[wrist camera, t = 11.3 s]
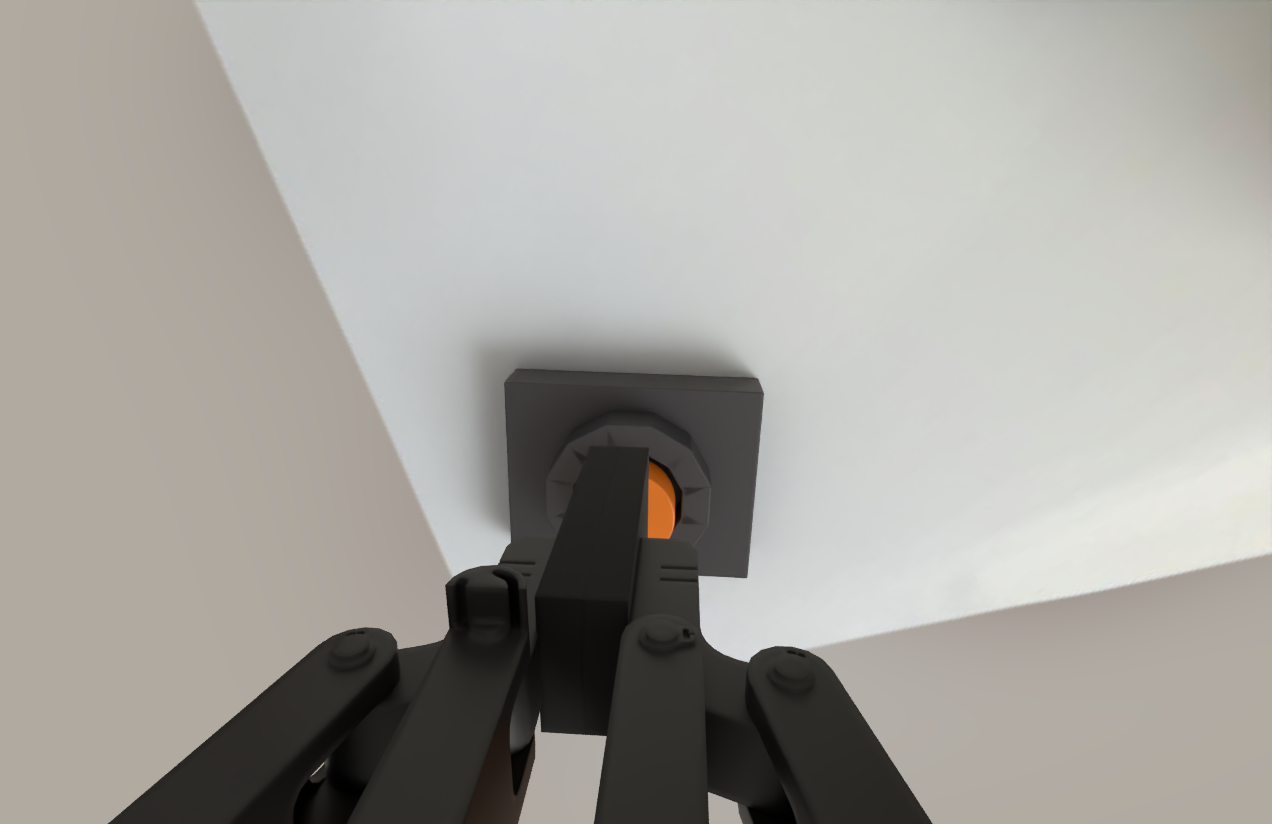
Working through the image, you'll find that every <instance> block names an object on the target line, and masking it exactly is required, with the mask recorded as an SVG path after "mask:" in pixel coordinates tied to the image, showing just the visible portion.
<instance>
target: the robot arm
mask: <svg viewBox="0 0 1272 824" xmlns="http://www.w3.org/2000/svg"><path fill="white" fill-rule="evenodd" d="M648 488H649V447H619V446H590V447H589V449H588V452H587V455H586V458H585V460H584V463H583V466H582V469H581V471H580V474H579V477H578V480H577V482H576V485H575V488H574V490H573V493H572V496H571V499H570V501H569V504H568V507H567V510H566V512H565V515H564V518H563V521H562V523H561V526H560V529H559V532H558V534H557V536H548V535H524V534H522V535H521V536H520V537H518V538H517V539H516V540H515V541H513V542H512V543H511V544H509V545H508V546H507V547H506V549H505V551H504V553H503V555H502V557H501V559H500V563H498V565H491V566H480V567H476V568H472V569H468V570H465V571H463V572H462V573H460V574H458V575H456V576H454V577H453V578H452V579H451V580H450V581H449V582H448V583H447V584H446V585H445V587H446V596H447V597H446V598H447V608H448V618H449V628H450V629H449V631H448V632H447V634H446V636H445V638H444V640H441V641H439V642H436V643H431V644H427V645H422V646H416V647H411V648H404V649H398V648H397V642H396V640H395V639H394V637H393V636H392V634H391V633H389V632H387V631H384V630H382V629H378V628H366V627H365V628H358V629H352V630H347V631H345V632H342V633H339V634H337V635H334V636H332V637H330V638H329V639H327V640H326V641H324V642H322V643H321V644H319V645H318V646H317V647H316V648H315V649H313V650H312V651H311V652H310V653H309V654H307V655H306V656H305V657H304V658H303V659H301V660H300V661H299V662H298V663H297V664H296V665H295V666H293V667H292V668H291V669H290V670H289V671H287V672H286V673H285V674H284V675H283V676H281V677H280V678H279V679H278V680H277V681H276V682H274V683H273V684H272V685H271V686H270V687H268V688H267V689H266V690H265V691H264V692H263V693H261V694H260V695H259V696H258V697H257V698H256V699H254V700H253V701H252V702H251V703H250V704H248V705H247V706H246V707H245V708H244V709H243V710H241V711H240V712H239V713H238V714H237V715H236V716H234V717H233V718H232V719H231V720H230V721H229V722H227V723H226V724H225V725H224V726H223V727H221V728H220V729H219V730H218V731H217V732H215V733H214V734H213V735H212V736H211V737H210V738H208V739H207V740H206V741H205V742H204V743H202V744H201V745H200V746H199V747H198V748H197V749H196V750H194V751H193V752H192V753H191V754H190V755H188V756H187V757H186V758H185V759H184V760H183V761H181V762H180V763H179V764H178V765H177V766H176V767H174V768H173V769H172V770H171V771H170V772H168V773H167V774H166V775H165V776H164V777H162V778H161V779H160V780H159V781H158V782H157V783H155V784H154V785H153V786H152V787H151V788H150V789H148V790H147V791H146V792H145V793H144V794H143V795H141V796H140V797H139V798H138V799H137V800H135V801H134V802H133V803H132V804H131V805H130V806H128V807H127V808H126V809H125V810H124V811H122V812H121V813H120V814H119V815H118V816H117V817H115V818H114V819H113V820H112V821H111V822H109V823H108V824H518V821H519V817H520V814H521V810H522V806H523V802H524V798H525V794H526V790H527V786H528V783H529V779H530V775H531V771H532V767H533V763H534V759H535V734H534V731H535V727H536V724H537V720H538V716H539V713H540V717H541V732H550V733H566V734H582V735H599V736H607V739H606V745H605V752H604V758H603V765H602V772H601V779H600V786H599V793H598V799H597V807H596V814H595V820H594V824H709V816H708V815H709V813H708V792H710V793H713V794H716V795H719V796H721V797H724V798H726V799H729V800H732V801H734V802H737V803H738V808H739V814H740V817H741V820H742V823H743V824H932V823H931V821H930V819H929V817H928V816H927V814H926V813H925V811H924V810H923V808H922V807H921V806H920V804H919V802H918V801H917V799H916V797H915V796H914V794H913V793H912V791H911V790H910V788H909V787H908V785H907V784H906V782H905V781H904V779H903V778H902V776H901V774H900V773H899V771H898V770H897V768H896V767H895V765H894V764H893V762H892V761H891V759H890V758H889V756H888V754H887V753H886V751H885V750H884V748H883V747H882V745H881V744H880V742H879V741H878V739H877V737H876V736H875V735H874V733H873V731H872V730H871V728H870V727H869V725H868V724H867V722H866V721H865V719H864V718H863V716H862V714H861V713H860V712H859V710H858V708H857V707H856V705H855V704H854V702H853V701H852V699H851V697H850V696H849V694H848V693H847V692H846V690H845V688H844V687H843V685H842V684H841V682H840V681H839V679H838V677H837V676H836V674H835V673H834V671H833V670H832V669H831V668H830V667H829V666H828V665H827V664H826V662H825V661H823V659H821V658H819V657H818V656H816V655H814V654H812V653H810V652H809V651H806V650H802V649H798V648H795V647H783V646H775V647H771V648H767V649H763V650H761V651H759V652H758V653H757V654H755V655H754V656H753V657H751V660H750V662H749V663H747V662H744V661H740V660H737V659H734V658H731V657H729V656H726V655H724V654H722V653H720V652H719V651H717V650H715V649H714V648H713V647H712V646H710V645H709V644H708V643H707V642H706V640H705V639H704V637H703V635H702V633H701V629H700V612H699V582H698V553H697V551H696V550H695V549H694V548H693V546H692V545H691V544H690V542H689V541H688V540H687V539H664V538H648ZM323 762H324V765H323V766H322V767H321V768H320V769H319V770H318V771H317V772H316V773H315V774H314V775H312V774H313V773H314V772H315V771H316V770H317V769H318V768H319V767H320V766H321V764H322V763H323ZM311 775H312V776H311ZM310 776H311V777H310ZM309 777H310V778H309Z"/></svg>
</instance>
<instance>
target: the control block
mask: <svg viewBox="0 0 1272 824" xmlns="http://www.w3.org/2000/svg"><path fill="white" fill-rule="evenodd" d="M504 387H505V410H506V433H507V456H508V480H509V503H510V526H511V543H512V542H513V541H515V540H516V539H517V538H518V537H520V536H521V535H522V534H524V535H548V536H557V534H558V532H559V529H560V526H561V523H562V521H563V518H564V515H565V512H566V510H567V507H568V504H569V501H570V499H571V496H572V493H573V490H574V488H575V485H576V482H577V480H578V477H579V474H580V471H581V469H582V466H583V463H584V460H585V458H586V455H587V452H588V449H589V447H590V446H619V447H649V461H650V462H652V463H654V464H655V465H657V466H658V467H659V468H660V469H662V470H663V471H664V473H665V474H666V475H667V476H668V478H669V479H670V481H671V483H672V485H673V488H674V492H675V524H674V528H673V532H672V534H671V536H670V538H669V539H687V540H688V541H689V542H690V544H691V545H692V546H693V548H694V549H695V550H696V551H697V553H698V576H716V577H734V578H747V575H748V564H749V553H750V541H751V530H752V519H753V508H754V497H755V486H756V475H757V464H758V453H759V442H760V431H761V420H762V409H763V398H764V393H763V390H762V388H761V385H760V382H759V380H758V379H757V378H733V377H708V376H683V375H658V374H634V373H609V372H584V371H559V370H534V369H516V370H515V371H514V372H513V373H512V374H511V376H510V377H509V378H508V379H507V380H506V381H505V383H504Z"/></svg>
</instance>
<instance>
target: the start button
mask: <svg viewBox="0 0 1272 824" xmlns="http://www.w3.org/2000/svg"><path fill="white" fill-rule="evenodd" d="M674 524H675V492H674V488H673V485H672V483H671V481H670V479H669V478H668V476H667V475H666V474H665V473H664V471H663V470H662V469H660V468H659V467H658V466H657V465H655V464H654V463H652V462H650V461H649V488H648V538H664V539H669V538H670V536H671V534H672V532H673V528H674Z"/></svg>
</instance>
